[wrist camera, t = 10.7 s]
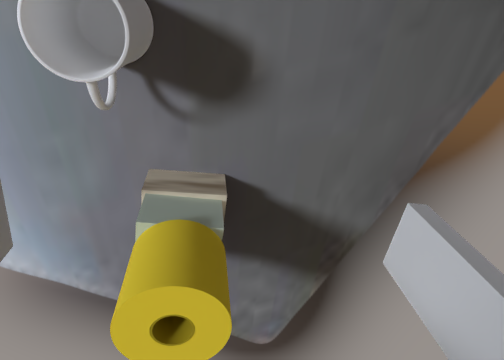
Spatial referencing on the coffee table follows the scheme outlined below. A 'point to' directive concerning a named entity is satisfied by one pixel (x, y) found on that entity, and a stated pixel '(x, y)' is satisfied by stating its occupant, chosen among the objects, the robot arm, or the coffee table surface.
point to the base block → (186, 185)
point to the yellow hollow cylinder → (174, 295)
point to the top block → (179, 212)
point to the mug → (86, 38)
